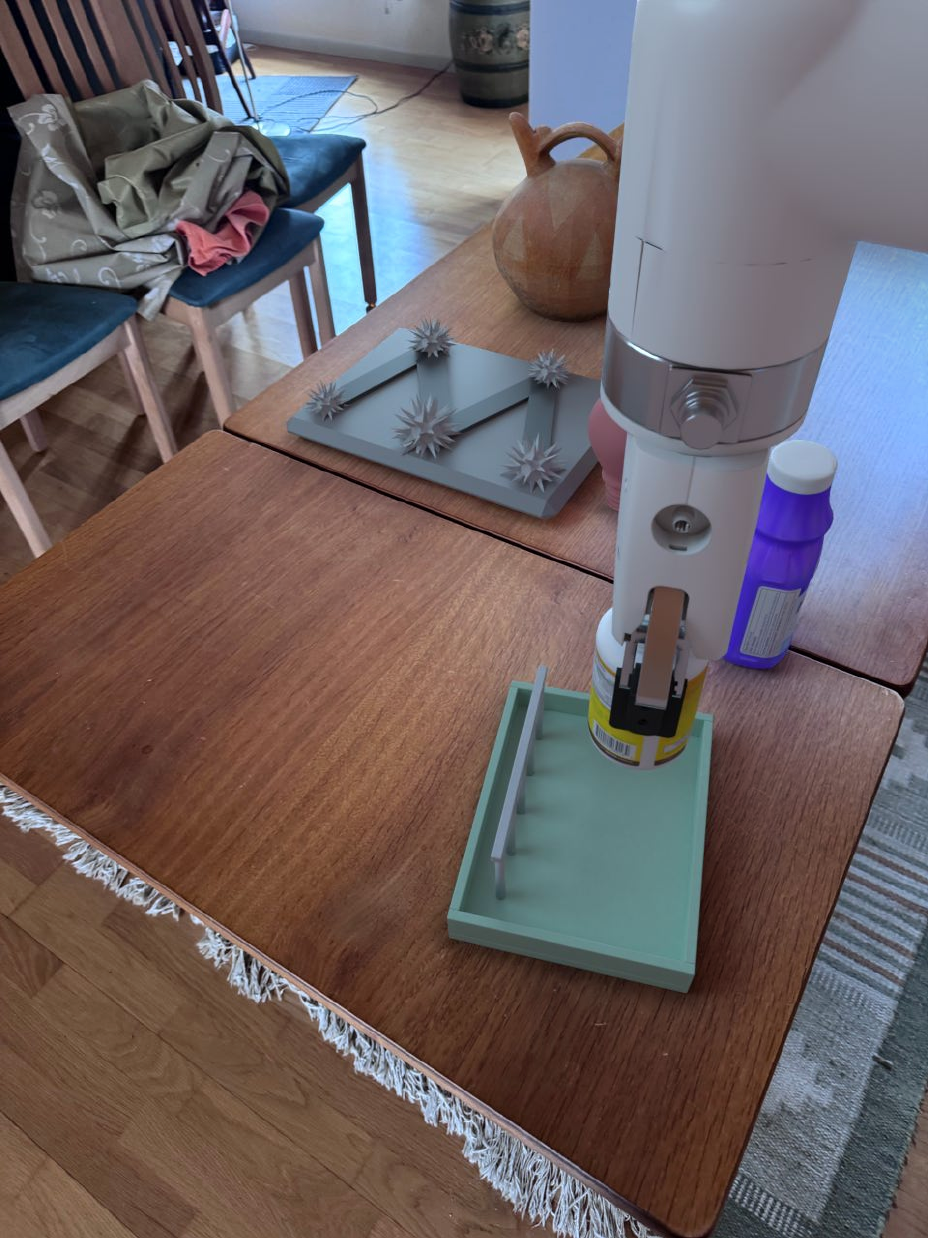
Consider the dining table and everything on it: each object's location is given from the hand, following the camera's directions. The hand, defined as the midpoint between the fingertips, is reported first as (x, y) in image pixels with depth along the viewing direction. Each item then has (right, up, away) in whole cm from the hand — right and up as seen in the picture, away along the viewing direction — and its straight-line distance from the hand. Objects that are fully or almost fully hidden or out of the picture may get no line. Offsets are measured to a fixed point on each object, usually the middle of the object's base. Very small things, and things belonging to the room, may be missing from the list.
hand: (649, 676), depth 45 cm
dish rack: (-1, -11, +12) cm, 17 cm away
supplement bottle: (0, -4, +4) cm, 5 cm away
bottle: (+13, +1, +23) cm, 26 cm away
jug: (+3, +41, +61) cm, 73 cm away
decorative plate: (-9, +22, +44) cm, 50 cm away
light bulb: (+5, +13, +34) cm, 37 cm away
